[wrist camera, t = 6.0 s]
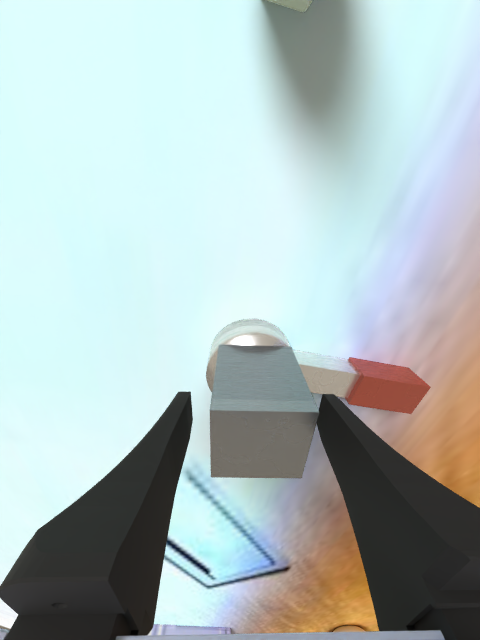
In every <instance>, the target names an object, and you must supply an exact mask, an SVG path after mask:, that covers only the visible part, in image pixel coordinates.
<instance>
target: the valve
mask: <svg viewBox="0 0 480 640" xmlns="http://www.w3.org/2000/svg"><path fill="white" fill-rule="evenodd" d="M267 1H270V2H273V3H276V4H279V5H282V6H285V7H288V8H291V9H294V10H297V11H300V12H305V11H306V10H307V9H308V7H309V6H310V4H311V3H312V1H313V0H267Z"/></svg>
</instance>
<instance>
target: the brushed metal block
mask: <svg viewBox="0 0 480 640" xmlns="http://www.w3.org/2000/svg"><path fill="white" fill-rule="evenodd" d="M318 415H319V411H318V408H317V406H316V403H315V401H314V399H313V396H312V394H311V392H310V389H309V387H308V385H307V382H306V380H305V378H304V375H303V373H302V371H301V368H300V366H299V364H298V361H297V359H296V357H295V354H294V352H293V350H292V347H290V346H257V345H224V344H219V346H218V354H217V361H216V369H215V376H214V384H213V391H212V399H211V406H210V444H211V477H239V478H302V474H303V471H304V467H305V463H306V460H307V456H308V452H309V448H310V445H311V441H312V437H313V434H314V430H315V426H316V423H317V419H318Z"/></svg>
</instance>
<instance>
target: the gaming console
mask: <svg viewBox="0 0 480 640" xmlns="http://www.w3.org/2000/svg"><path fill="white" fill-rule="evenodd" d="M203 634H231V628H222V627H198V626H177V625H160V624H153V628H152V630H151V631H150V633H149V634H148V635H203Z"/></svg>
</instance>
